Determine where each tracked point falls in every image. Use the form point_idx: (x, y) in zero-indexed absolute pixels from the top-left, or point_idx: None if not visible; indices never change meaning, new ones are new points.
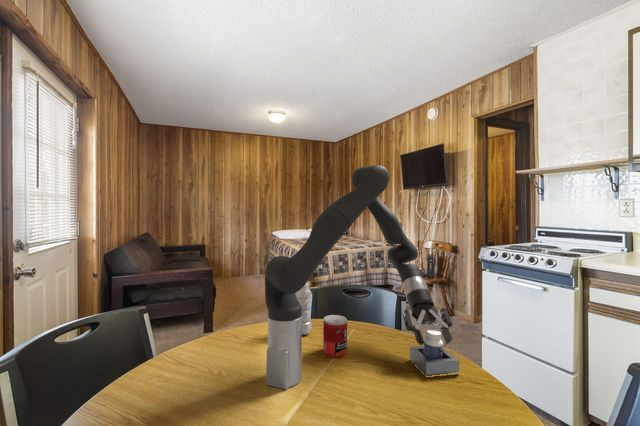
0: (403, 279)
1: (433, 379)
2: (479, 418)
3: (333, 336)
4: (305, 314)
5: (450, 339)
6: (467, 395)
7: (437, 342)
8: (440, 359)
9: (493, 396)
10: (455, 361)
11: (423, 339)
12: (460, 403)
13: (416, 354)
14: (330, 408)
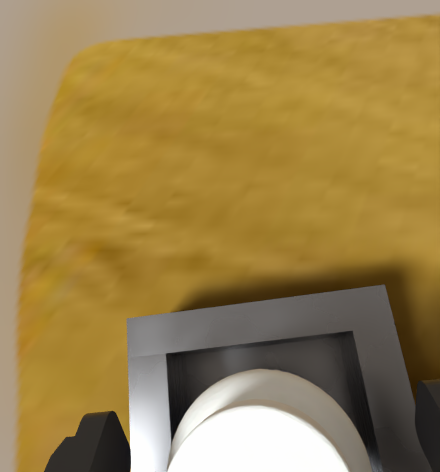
0: None
1: (324, 284)
2: (246, 37)
3: None
4: None
5: (91, 418)
6: (214, 157)
7: (255, 390)
8: (256, 335)
9: (108, 154)
10: (156, 315)
11: (436, 399)
12: (273, 106)
13: (424, 454)
14: None
